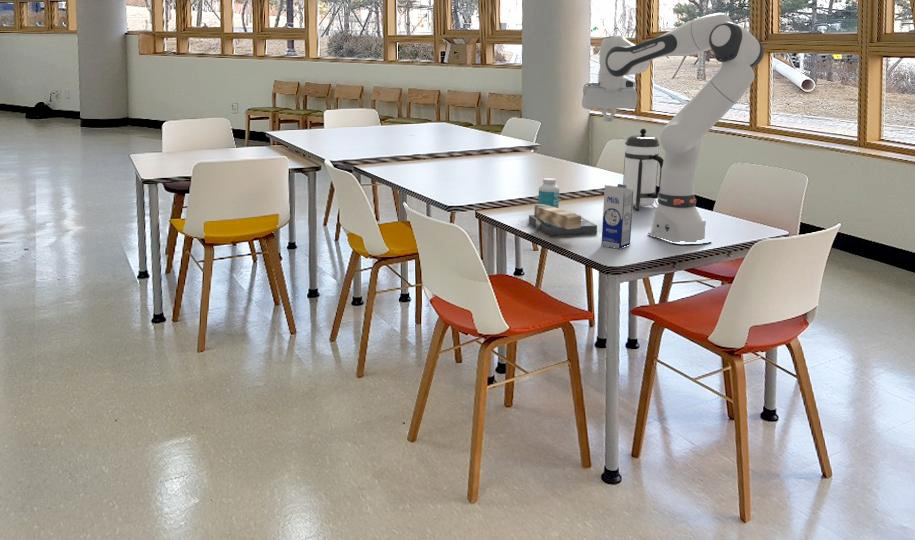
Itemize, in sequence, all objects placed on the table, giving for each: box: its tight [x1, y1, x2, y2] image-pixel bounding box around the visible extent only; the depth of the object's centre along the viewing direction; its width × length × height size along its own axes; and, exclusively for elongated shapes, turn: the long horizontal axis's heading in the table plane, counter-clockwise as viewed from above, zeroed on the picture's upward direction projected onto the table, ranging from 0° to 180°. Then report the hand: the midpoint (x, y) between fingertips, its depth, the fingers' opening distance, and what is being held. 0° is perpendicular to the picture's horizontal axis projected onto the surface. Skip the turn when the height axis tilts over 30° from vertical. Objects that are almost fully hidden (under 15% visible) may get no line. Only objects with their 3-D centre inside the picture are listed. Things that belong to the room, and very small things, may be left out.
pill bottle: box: [538, 177, 560, 209], centre depth 347 cm, size 8×7×14 cm
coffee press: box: [622, 128, 664, 212], centre depth 360 cm, size 17×16×30 cm
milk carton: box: [600, 183, 634, 249], centre depth 304 cm, size 7×7×20 cm
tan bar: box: [533, 203, 582, 229], centre depth 317 cm, size 21×5×4 cm, turn 30°
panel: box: [528, 212, 598, 238], centre depth 327 cm, size 20×18×4 cm
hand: (608, 121), depth 343 cm, fingers closed
